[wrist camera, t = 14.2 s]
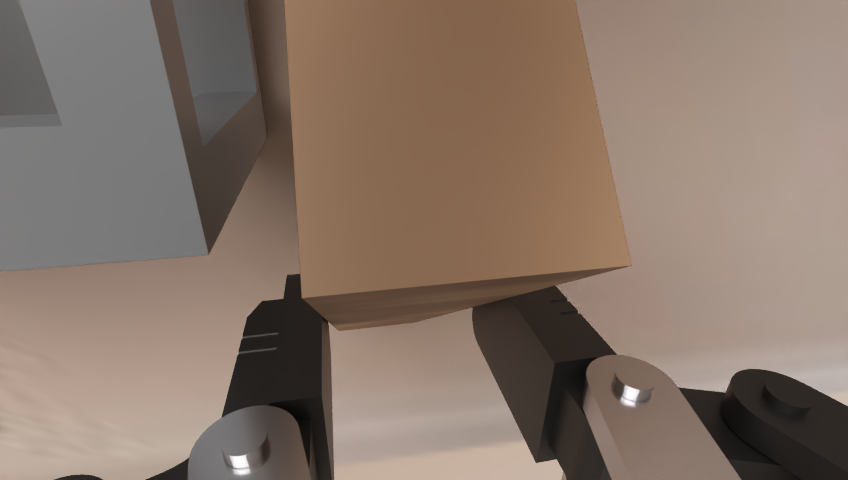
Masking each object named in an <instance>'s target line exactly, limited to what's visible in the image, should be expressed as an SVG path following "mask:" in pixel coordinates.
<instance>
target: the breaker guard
mask: <svg viewBox="0 0 848 480" xmlns="http://www.w3.org/2000/svg"><path fill="white" fill-rule="evenodd" d="M266 139H267V133H266V126H265V119H264V112H263V105H262V98H261V92H260V85H259V78H258V71H257V64H256V57H255V50H254V43H253V36H252V30H251V23H250V16H249V9H248V2H247V0H0V272H1V271H13V270H26V269H39V268H51V267H64V266H76V265H89V264H102V263H114V262H127V261H140V260H152V259H165V258H178V257H190V256H203V255H209V253H210V251H211V249H212V247H213V245H214V243H215V241H216V239H217V237H218V235H219V233H220V231H221V229H222V227H223V225H224V223H225V221H226V219H227V217H228V215H229V213H230V211H231V209H232V207H233V205H234V203H235V201H236V199H237V197H238V195H239V193H240V191H241V189H242V187H243V185H244V183H245V181H246V179H247V177H248V175H249V173H250V171H251V169H252V167H253V165H254V163H255V161H256V159H257V157H258V155H259V153H260V151H261V149H262V147H263V145H264V143H265V141H266Z"/></svg>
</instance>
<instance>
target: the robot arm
mask: <svg viewBox="0 0 848 480" xmlns="http://www.w3.org/2000/svg"><path fill="white" fill-rule="evenodd" d="M472 321H473V329H474V334H475V338H476V340H477V343H478V345H479V347H480V349H481V351H482V353H483V355H484V357H485V359H486V361H487V363H488V365H489V367H490V369H491V371H492V373H493V376H494V378H495V380H496V382H497V384H498V386H499V388H500V390H501V392H502V394H503V396H504V398H505V400H506V402H507V404H508V406H509V408H510V410H511V412H512V414H513V417H514V419H515V421H516V423H517V425H518V427H519V429H520V431H521V433H522V435H523V437H524V439H525V441H526V443H527V445H528V447H529V449H530V451H531V453H532V455H533V457H534V460H535V462H536V463H538V462H543V461H549V460H554V459H557V460H558V462H559V464H560V466H561V468H562V469H563V471H564V472H563V476H562V480H848V406H846V405H844V404H842V403H840V402H838V401H836V400H835V399H833V398H831V397H829V396H827V395H825V394H823V393H821V392H819V391H817V390H815V389H813V388H811V387H809V386H808V385H806V384H804V383H802V382H800V381H797V380H795V379H793V378H790V377H788V376H785V375H782V374H779V373H776V372H772V371H767V370H760V369H747V370H742V371H739V372H737V373H735V374H734V376H733V377H732V379H731V381H730V384H729V386H728V388H727V391H726V393H723V392H714V391H704V390H695V389H686V388H678V387H677V385H676V384H675V383H674V382H673V380H672V379H671V378H670V377H668V376H667V375H666V374H665V373H664V372H662V371H661V370H660V369H658V368H656V367H655V366H653V365H651V364H649V363H647V362H645V361H642V360H639V359H636V358H633V357H629V356H623V355H617V354H616V353H615V352H614V351H613V350H612V349H611V348H610V346H609V345H608V344H607V343H606V342H605V341H604V340H603V339H602V337H601V336H600V335H599V334H598V333H597V332H596V331H595V330H594V328H593V327H592V326H591V325H590V324H589V323H588V322H587V321H586V320H585V318H584V317H583V316H582V315H581V314H578V311H577V309H576V308H575V307H574V306H573V305H572V304H571V303H570V302H567V298H566V297H565V296H564V295H563V294H562V293H561V292H560V290H559V289H558V288H557V287H556V286H551V287H547V288H544V289H540V290H536V291H532V292H528V293H524V294H521V295H517V296H513V297H509V298H505V299H502V300H498V301H494V302H490V303H486V304H483V305H479V306H475V307H473V312H472ZM55 480H102V479H101V478H99V477H95V476H92V475H71V476H66V477H61V478H58V479H55ZM146 480H334V460H333V421H332V382H331V351H330V337H329V326H328V321H327V320H326V319H325V318H324V317H323V316H322V315H320V314H319V313H318V312H317V311H316V310H315V309H314V308H313V307H311V306H310V305H309V304H308V303H307V302H306V301H305V300H303V299H302V292H301V275H300V274H294V275H287V278H286V285H285V292H284V299H279V300H270V301H262V302H261V303H260V304H259V305H258V306H257V307H256V308H255V310H254V311H253V312H252V313H251V314H250V315H249V316H248V317H247V321H246V325H245V328H244V332H243V339H242V340H241V344H240V348H239V355H238V356H237V360H236V363H235V367H234V371H233V375H232V379H231V383H230V387H229V391H228V395H227V399H226V402H225V406H224V410H223V414H222V418H221V419H219V420H217V421H216V422H215V423H214V424H212V425H211V426H210V427H209V428H208V429H207V430H206V431H205V432H204V433H203V434H202V435H201V436H200V437H199V439H198V440H197V441H196V443H195V445H194V447H193V449H192V451H191V454H190V457H189V458H188V459H187V460H185V461H184V462H182V463H180V464H179V465H177V466H175V467H173V468H171V469H169V470H167V471H165V472H163V473H161V474H158V475H156V476H153V477H151V478H149V479H146Z"/></svg>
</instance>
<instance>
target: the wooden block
mask: <svg viewBox="0 0 848 480" xmlns="http://www.w3.org/2000/svg"><path fill="white" fill-rule="evenodd" d="M284 4H285V21H286V38H287V55H288V72H289V89H290V106H291V123H292V140H293V157H294V174H295V191H296V208H297V225H298V241H299V258H300V275H301V292H302V299H303V300H305V301H306V302H307V303H308V304H309V305H310V306H311V307H313V308H314V309H315V310H316V311H317V312H318V313H319V314H320V315H322V316H323V317H324V318H325V319H326V320H327V321H328V322H330V323H331V324H332V325H333V326H334V327H335V328H336V329H337V330H339V331H343V330H351V329H360V328H369V327H378V326H386V325H395V324H404V323H412V322H418V321H421V320H425V319H429V318H433V317H437V316H441V315H444V314H448V313H452V312H456V311H460V310H463V309H467V308H471V307H475V306H479V305H483V304H486V303H490V302H494V301H498V300H502V299H505V298H509V297H513V296H517V295H521V294H524V293H528V292H532V291H536V290H540V289H544V288H547V287H551V286H555V285H559V284H563V283H566V282H570V281H574V280H578V279H582V278H586V277H589V276H593V275H597V274H601V273H605V272H608V271H612V270H616V269H620V268H624V267H628V266H631V265H632V264H631V260H630V255H629V250H628V246H627V241H626V236H625V232H624V227H623V222H622V218H621V213H620V208H619V204H618V199H617V194H616V190H615V185H614V180H613V176H612V171H611V167H610V162H609V157H608V153H607V148H606V143H605V139H604V134H603V129H602V125H601V120H600V115H599V111H598V106H597V101H596V97H595V92H594V87H593V83H592V78H591V73H590V69H589V64H588V59H587V55H586V50H585V45H584V41H583V36H582V31H581V27H580V22H579V17H578V13H577V8H576V3H575V0H284Z"/></svg>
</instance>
